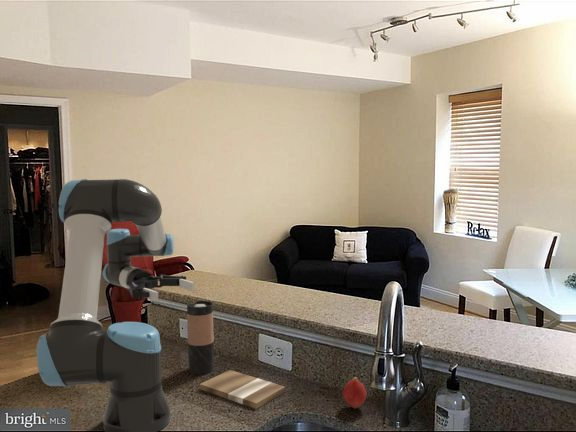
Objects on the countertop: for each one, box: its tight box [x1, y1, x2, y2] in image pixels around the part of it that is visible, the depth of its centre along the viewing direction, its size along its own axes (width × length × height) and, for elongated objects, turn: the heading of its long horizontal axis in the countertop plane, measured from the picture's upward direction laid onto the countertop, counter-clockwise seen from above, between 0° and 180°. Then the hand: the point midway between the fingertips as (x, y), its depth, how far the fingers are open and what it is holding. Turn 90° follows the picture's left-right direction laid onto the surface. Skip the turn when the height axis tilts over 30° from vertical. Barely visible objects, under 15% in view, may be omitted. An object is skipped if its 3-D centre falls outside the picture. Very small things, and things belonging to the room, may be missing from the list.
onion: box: [342, 376, 367, 409], centre depth 126 cm, size 6×6×8 cm
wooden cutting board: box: [199, 369, 286, 410], centre depth 137 cm, size 20×12×2 cm, turn 54°
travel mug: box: [186, 300, 215, 375], centre depth 151 cm, size 8×8×20 cm
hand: (176, 291), depth 155 cm, fingers open, 13 cm apart
